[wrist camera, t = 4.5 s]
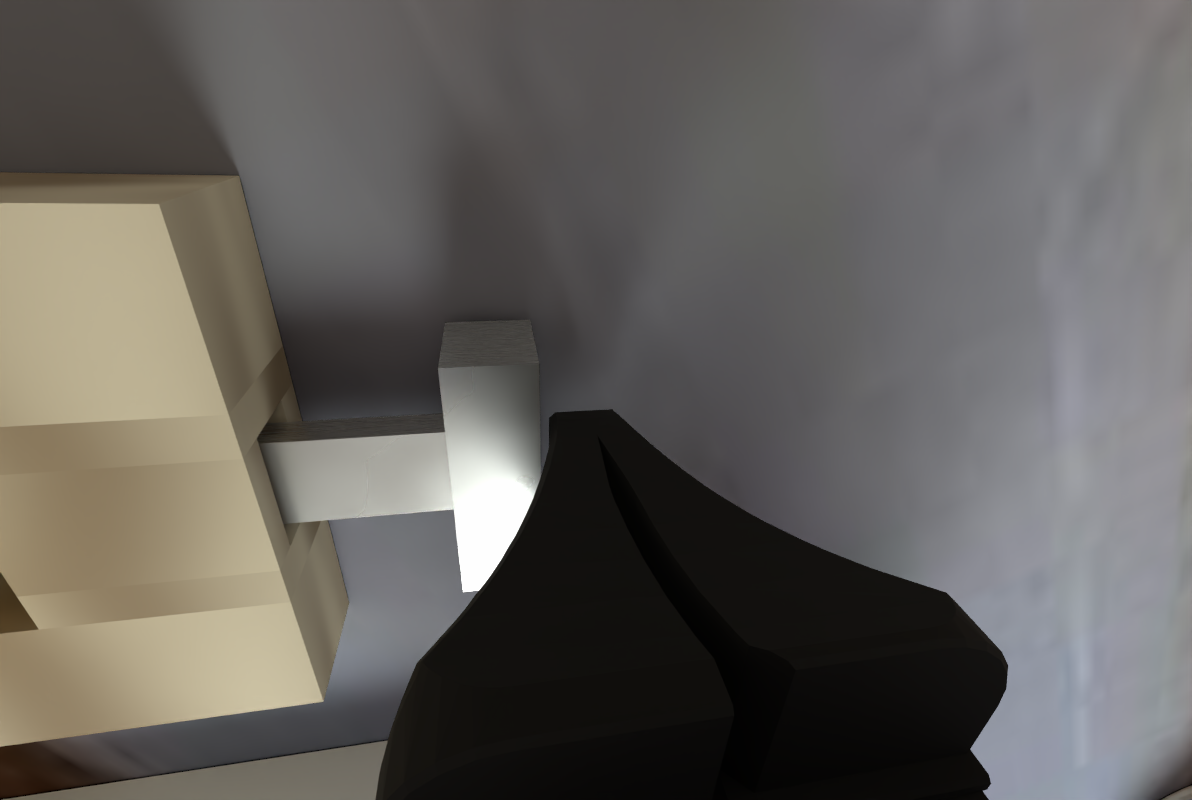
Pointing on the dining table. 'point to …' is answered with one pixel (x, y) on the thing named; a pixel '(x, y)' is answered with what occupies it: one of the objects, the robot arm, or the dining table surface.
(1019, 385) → the dining table surface
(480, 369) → the white t-shaped block
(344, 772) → the rack
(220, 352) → the socket block
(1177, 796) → the lidded jar
